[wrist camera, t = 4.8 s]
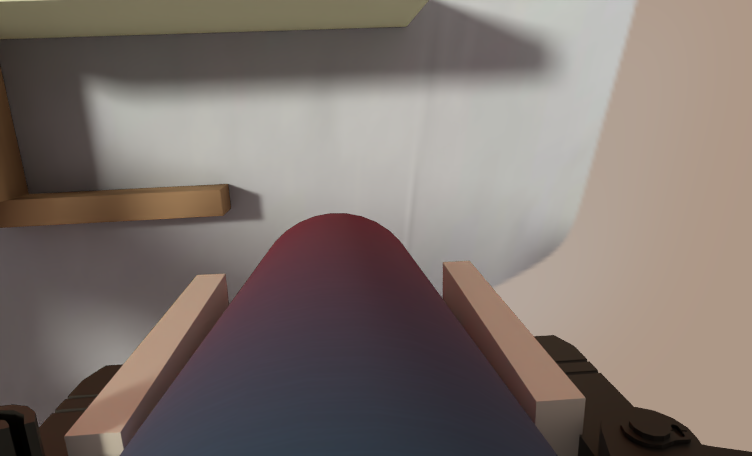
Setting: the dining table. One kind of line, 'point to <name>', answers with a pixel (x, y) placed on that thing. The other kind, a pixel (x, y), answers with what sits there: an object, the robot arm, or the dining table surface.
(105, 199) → the bracket
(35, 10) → the wall board
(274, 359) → the cup
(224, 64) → the dining table surface
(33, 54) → the dining table surface
